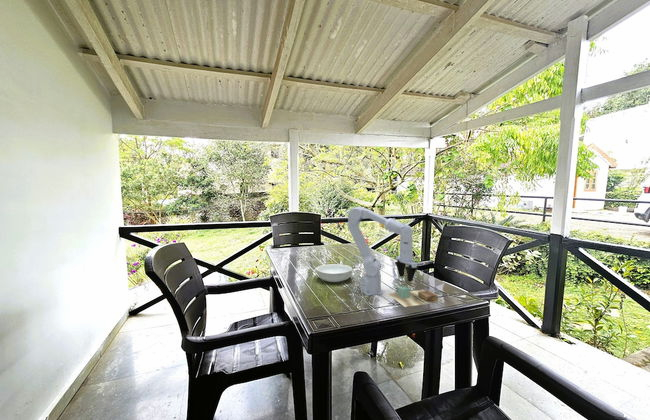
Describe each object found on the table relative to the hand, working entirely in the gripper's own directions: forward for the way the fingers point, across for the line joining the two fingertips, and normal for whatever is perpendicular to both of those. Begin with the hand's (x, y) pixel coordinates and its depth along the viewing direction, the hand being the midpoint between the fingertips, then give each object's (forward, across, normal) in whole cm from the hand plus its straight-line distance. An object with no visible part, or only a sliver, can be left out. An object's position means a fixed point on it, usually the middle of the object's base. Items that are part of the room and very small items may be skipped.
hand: (405, 278), depth 131 cm
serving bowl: (+9, +34, +25) cm, 43 cm away
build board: (+8, -4, -2) cm, 10 cm away
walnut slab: (+8, -7, -7) cm, 13 cm away
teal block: (+8, -1, +2) cm, 8 cm away
